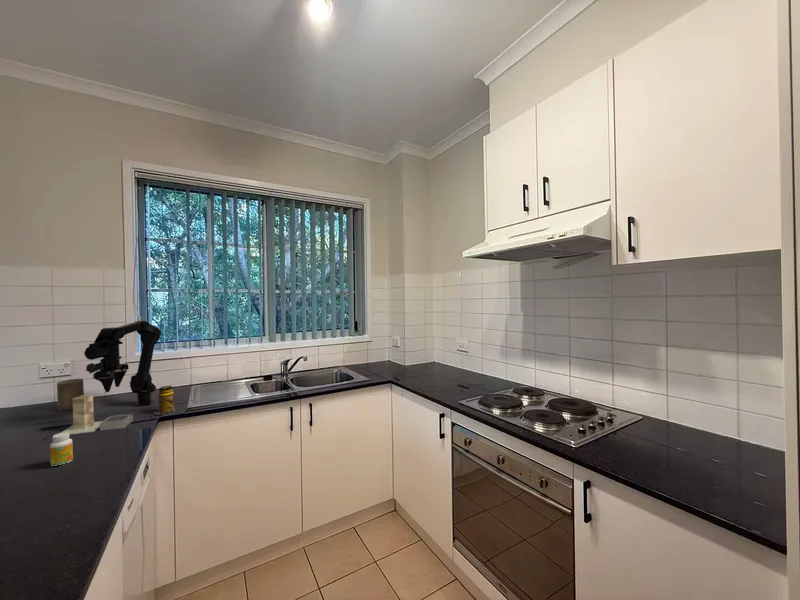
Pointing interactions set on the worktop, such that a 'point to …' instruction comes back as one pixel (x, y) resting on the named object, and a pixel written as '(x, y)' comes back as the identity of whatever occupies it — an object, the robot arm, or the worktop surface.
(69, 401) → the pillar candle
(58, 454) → the supplement bottle
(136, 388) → the robot arm
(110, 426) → the collar
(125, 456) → the worktop surface
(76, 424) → the block
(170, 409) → the condiment
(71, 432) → the mat
